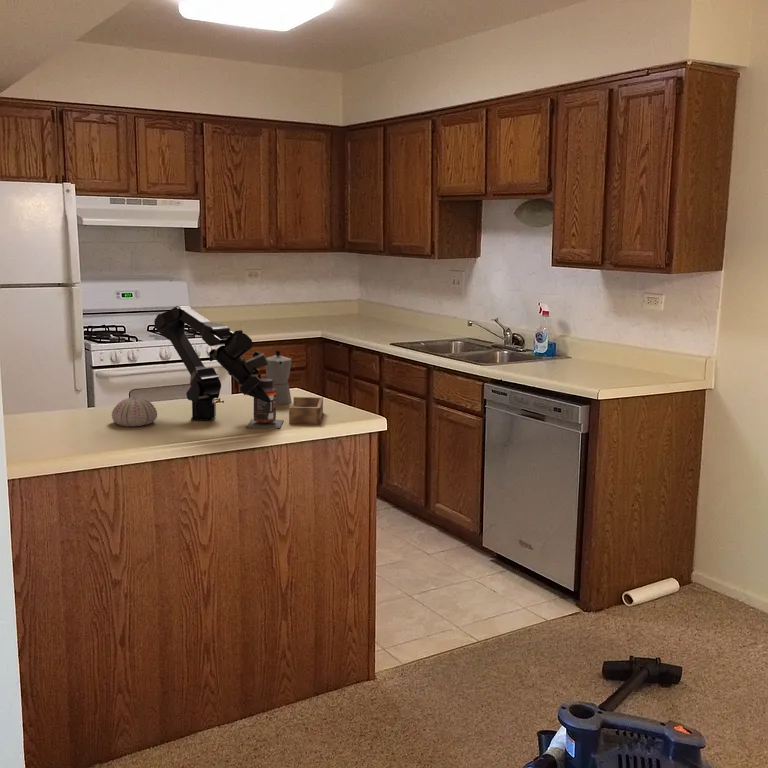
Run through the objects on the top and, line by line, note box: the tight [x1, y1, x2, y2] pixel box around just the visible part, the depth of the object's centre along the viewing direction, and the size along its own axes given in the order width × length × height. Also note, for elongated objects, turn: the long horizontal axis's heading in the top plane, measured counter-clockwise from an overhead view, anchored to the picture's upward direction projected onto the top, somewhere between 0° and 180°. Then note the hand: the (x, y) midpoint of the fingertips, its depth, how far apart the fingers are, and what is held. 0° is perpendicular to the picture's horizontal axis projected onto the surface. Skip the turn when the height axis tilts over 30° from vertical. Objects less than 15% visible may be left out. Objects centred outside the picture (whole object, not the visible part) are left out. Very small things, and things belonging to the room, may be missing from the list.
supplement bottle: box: [253, 378, 277, 423], centre depth 253 cm, size 7×7×13 cm
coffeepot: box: [264, 349, 293, 405], centre depth 286 cm, size 15×9×18 cm, turn 15°
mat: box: [245, 418, 284, 429], centre depth 254 cm, size 10×10×1 cm
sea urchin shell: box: [111, 396, 158, 428], centre depth 251 cm, size 13×14×8 cm
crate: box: [288, 396, 324, 425], centre depth 265 cm, size 10×16×5 cm, turn 1°
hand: (269, 399), depth 253 cm, fingers closed on supplement bottle, 7 cm apart
